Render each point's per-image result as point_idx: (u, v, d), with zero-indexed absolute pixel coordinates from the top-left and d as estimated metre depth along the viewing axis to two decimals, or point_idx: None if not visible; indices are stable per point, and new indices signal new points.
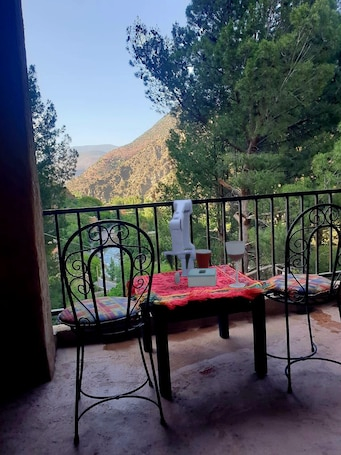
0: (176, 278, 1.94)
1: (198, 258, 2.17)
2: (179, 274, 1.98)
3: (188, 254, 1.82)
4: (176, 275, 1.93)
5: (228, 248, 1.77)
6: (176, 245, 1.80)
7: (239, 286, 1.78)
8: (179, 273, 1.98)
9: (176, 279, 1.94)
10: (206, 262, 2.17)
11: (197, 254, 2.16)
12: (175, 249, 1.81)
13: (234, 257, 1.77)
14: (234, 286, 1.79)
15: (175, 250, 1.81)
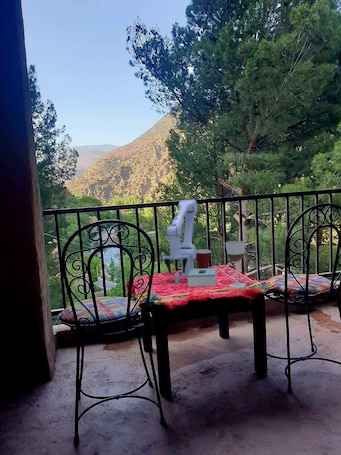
0: (176, 278, 1.94)
1: (198, 258, 2.17)
2: (179, 274, 1.98)
3: (185, 259, 1.93)
4: (176, 275, 1.93)
5: (228, 248, 1.77)
6: (174, 250, 1.91)
7: (239, 286, 1.78)
8: (179, 273, 1.98)
9: (176, 279, 1.94)
10: (206, 262, 2.17)
11: (197, 254, 2.16)
12: (173, 254, 1.92)
13: (234, 257, 1.77)
14: (234, 286, 1.79)
15: (173, 255, 1.92)
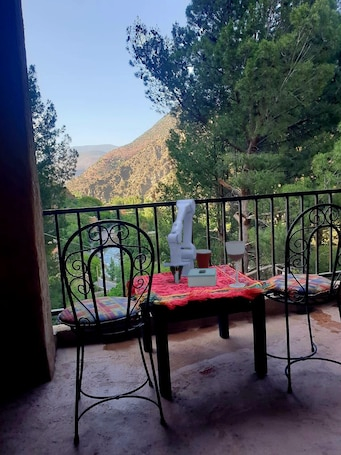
0: (176, 278, 1.93)
1: (198, 258, 2.17)
2: None
3: (185, 266, 1.93)
4: (176, 275, 1.93)
5: (228, 248, 1.77)
6: (174, 257, 1.92)
7: (239, 286, 1.78)
8: None
9: (176, 279, 1.94)
10: (206, 262, 2.17)
11: (197, 254, 2.16)
12: (173, 261, 1.92)
13: (234, 257, 1.77)
14: (234, 286, 1.79)
15: (173, 262, 1.92)
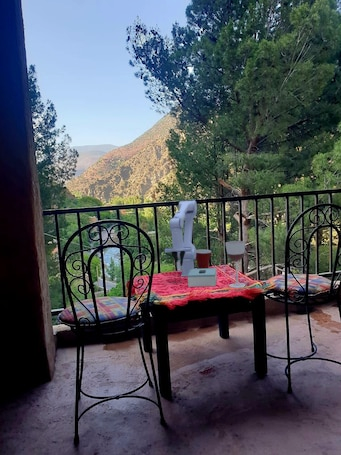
0: (178, 265, 1.92)
1: (198, 258, 2.17)
2: None
3: (187, 251, 1.92)
4: (178, 262, 1.92)
5: (228, 248, 1.77)
6: (176, 243, 1.90)
7: (239, 286, 1.78)
8: None
9: (178, 266, 1.92)
10: (206, 262, 2.17)
11: (197, 254, 2.16)
12: (175, 246, 1.91)
13: (234, 257, 1.77)
14: (234, 286, 1.79)
15: (175, 247, 1.91)
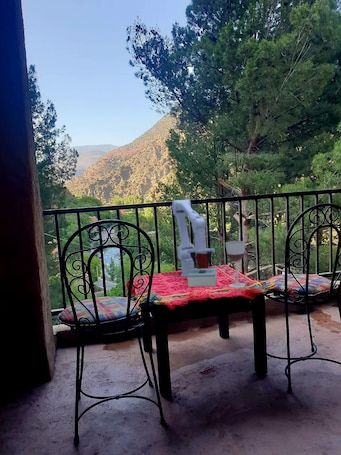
0: None
1: (198, 258, 2.17)
2: None
3: (210, 252, 1.88)
4: None
5: (228, 248, 1.77)
6: (199, 243, 1.86)
7: (239, 286, 1.78)
8: None
9: None
10: (206, 262, 2.17)
11: (197, 254, 2.16)
12: (198, 247, 1.87)
13: (234, 257, 1.77)
14: (234, 286, 1.79)
15: (198, 248, 1.87)
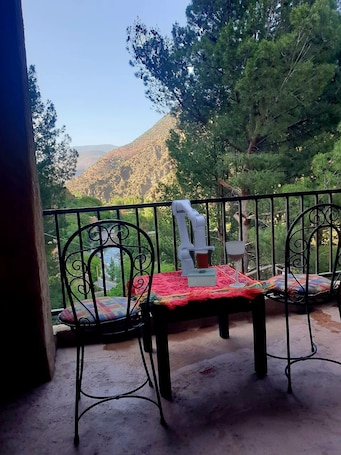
0: None
1: (198, 258, 2.17)
2: None
3: (210, 250, 1.87)
4: None
5: (228, 248, 1.77)
6: (199, 241, 1.86)
7: (239, 286, 1.78)
8: None
9: None
10: (206, 262, 2.17)
11: (197, 254, 2.16)
12: (198, 245, 1.86)
13: (234, 257, 1.77)
14: (234, 286, 1.79)
15: (198, 246, 1.87)
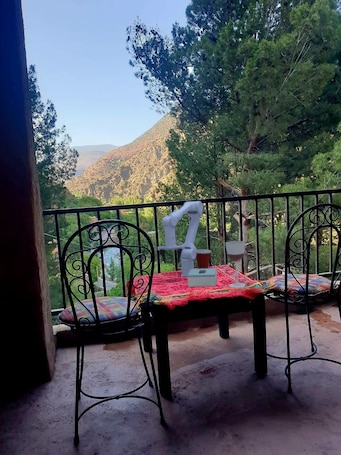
0: None
1: (198, 258, 2.17)
2: None
3: (180, 249, 1.95)
4: None
5: (228, 248, 1.77)
6: (169, 240, 1.93)
7: (239, 286, 1.78)
8: None
9: None
10: (206, 262, 2.17)
11: (197, 254, 2.16)
12: (168, 244, 1.94)
13: (234, 257, 1.77)
14: (234, 286, 1.79)
15: (168, 245, 1.94)
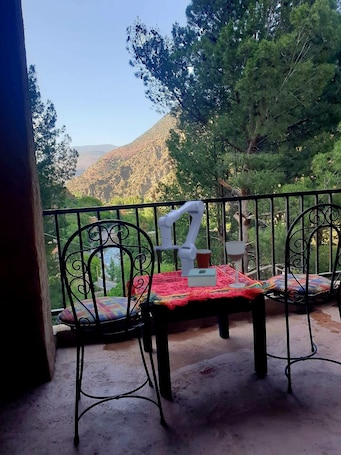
0: None
1: (198, 258, 2.17)
2: None
3: (176, 249, 1.96)
4: None
5: (228, 248, 1.77)
6: (165, 240, 1.95)
7: (239, 286, 1.78)
8: None
9: None
10: (206, 262, 2.17)
11: (197, 254, 2.16)
12: (164, 244, 1.95)
13: (234, 257, 1.77)
14: (234, 286, 1.79)
15: (164, 245, 1.95)
